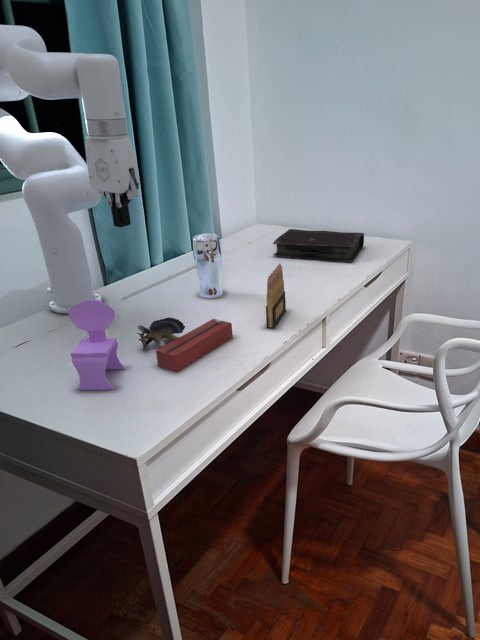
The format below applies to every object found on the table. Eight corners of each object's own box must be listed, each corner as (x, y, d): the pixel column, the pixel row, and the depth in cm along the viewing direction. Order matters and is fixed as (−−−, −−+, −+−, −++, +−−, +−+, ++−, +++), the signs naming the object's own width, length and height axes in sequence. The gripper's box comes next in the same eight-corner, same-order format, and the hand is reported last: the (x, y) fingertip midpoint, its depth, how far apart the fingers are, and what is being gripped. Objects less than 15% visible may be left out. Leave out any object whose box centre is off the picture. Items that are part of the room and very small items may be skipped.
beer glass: (220, 299, 138) (214, 240, 130) (194, 298, 139) (187, 240, 131) (228, 290, 143) (223, 233, 136) (203, 289, 145) (197, 232, 137)
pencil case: (158, 366, 107) (155, 348, 105) (214, 333, 120) (213, 316, 118) (177, 372, 104) (174, 353, 102) (232, 337, 118) (231, 320, 116)
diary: (290, 242, 183) (290, 227, 180) (363, 246, 176) (364, 231, 173) (272, 258, 168) (271, 242, 165) (351, 263, 161) (352, 247, 158)
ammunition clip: (274, 328, 121) (272, 277, 115) (266, 328, 121) (263, 276, 115) (286, 311, 130) (284, 262, 124) (278, 310, 130) (276, 261, 124)
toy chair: (72, 391, 99) (53, 315, 91) (88, 368, 106) (71, 296, 99) (118, 390, 99) (102, 314, 91) (130, 368, 106) (116, 295, 99)
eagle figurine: (152, 355, 108) (191, 336, 112) (134, 323, 108) (174, 305, 111) (146, 360, 115) (183, 342, 119) (130, 330, 115) (168, 313, 118)
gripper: (65, 128, 104) (84, 224, 114) (119, 133, 98) (134, 235, 107) (96, 125, 110) (111, 217, 119) (149, 129, 103) (161, 226, 112)
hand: (122, 225), depth 113 cm, fingers closed
